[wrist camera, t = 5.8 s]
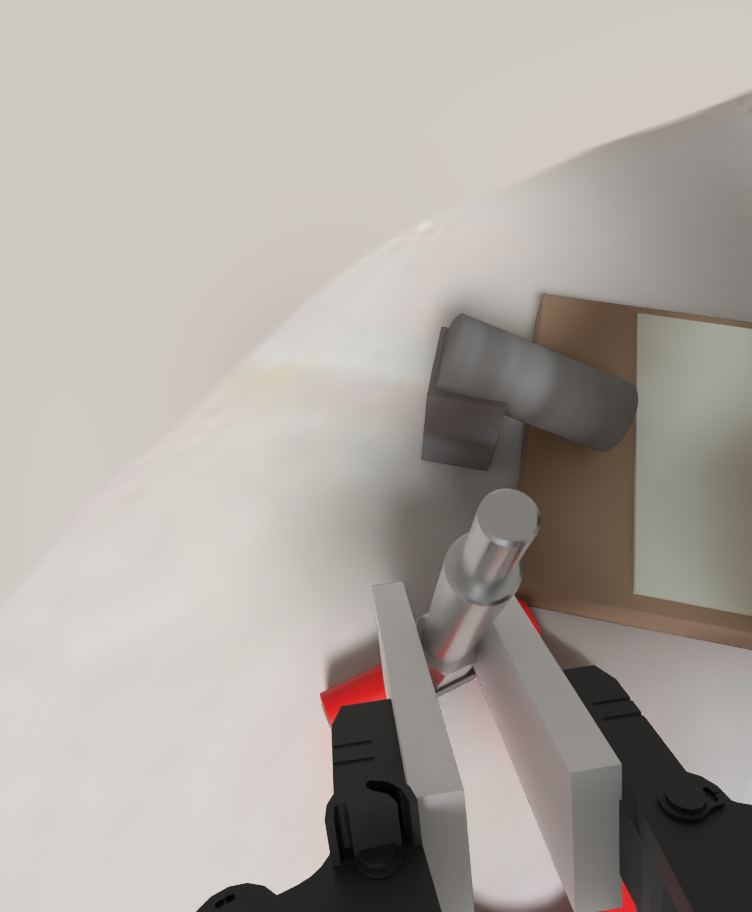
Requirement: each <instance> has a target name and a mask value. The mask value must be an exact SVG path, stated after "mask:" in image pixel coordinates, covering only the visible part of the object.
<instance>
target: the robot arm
mask: <svg viewBox="0 0 752 912" xmlns="http://www.w3.org/2000/svg"><path fill="white" fill-rule="evenodd" d="M372 590H373V598H374V606H375V614H376V622H377V631H378V639H379V647H380V655H381V663H382V671H383V679H384V686H385V692H386V698H387V699H384V700H377V701H371V702H365V703H358V704H352V705H345V706H341V708H340V710H339V712H338V714H337V716H336V717H335V719H334V721H333V723H332V725H331V727H332V749H333V750H332V756H333V785H334V794H333V796H332V797H331V799H330V801H329V802H328V804H327V807H326V815H325V824H326V830H327V837H328V843H329V849H330V855H329V856H328V858H327V859H326V861H325V862H324V864H323V865H322V867H321V868H320V869H318V870H317V871H316V872H315V873H314V874H313V875H312V876H311V877H310V878H308V879H307V880H305V881H303V882H302V883H300V884H299V885H297V886H295V887H293V888H291V889H289V890H287V891H285V892H283V893H281V894H279V895H276V894H274V893H273V892H272V891H270V890H269V889H268V888H266V887H265V886H262V885H256V884H250V883H245V884H240V885H235V886H230V887H228V888H226V889H224V890H222V891H220V892H219V893H217V894H215V895H213V896H212V897H210V898H209V899H208V900H207V901H206V902H205V903H204V904H203V905H202V906H201V907H200V908H199V909H198V910H197V911H196V912H475V911H474V900H473V889H472V877H471V866H470V855H469V843H468V832H467V821H466V809H465V798H464V789H463V786H462V782H461V779H460V775H459V772H458V768H457V765H456V762H455V758H454V755H453V751H452V748H451V745H450V741H449V738H448V734H447V731H446V727H445V724H444V721H443V717H442V714H441V710H440V707H439V704H438V700H437V697H436V693H435V690H434V686H433V683H432V680H431V676H430V673H429V669H428V666H427V662H426V659H425V656H424V652H423V649H422V645H421V642H420V639H419V635H418V632H417V628H416V625H415V621H414V618H413V615H412V611H411V608H410V604H409V601H408V598H407V594H406V591H405V587H404V584H403V581H402V582H395V583H388V584H381V585H374V586H372ZM474 670H475V672H476V675H477V677H478V680H479V682H480V684H481V687H482V689H483V692H484V694H485V697H486V699H487V701H488V704H489V706H490V709H491V711H492V714H493V716H494V719H495V721H496V723H497V726H498V728H499V731H500V733H501V736H502V738H503V740H504V743H505V745H506V748H507V750H508V753H509V755H510V758H511V760H512V762H513V765H514V767H515V770H516V772H517V775H518V777H519V779H520V782H521V784H522V787H523V789H524V792H525V794H526V797H527V799H528V801H529V804H530V806H531V809H532V811H533V814H534V816H535V819H536V821H537V823H538V826H539V828H540V831H541V833H542V836H543V838H544V840H545V843H546V845H547V848H548V850H549V853H550V855H551V858H552V860H553V862H554V865H555V867H556V870H557V872H558V875H559V877H560V879H561V882H562V884H563V887H564V889H565V892H566V894H567V897H568V899H569V901H570V904H571V906H572V909H573V911H574V912H599V911H605V910H611V909H616V908H622V880H623V882H624V884H625V886H626V888H627V890H628V892H629V894H630V896H631V898H632V900H633V902H634V904H635V906H636V912H752V805H748V804H743V803H738V802H734V801H731V800H730V799H729V798H728V796H727V795H726V794H725V793H724V792H723V791H722V790H721V789H720V788H719V787H718V786H716V785H715V784H713V783H711V782H710V781H708V780H706V779H705V778H703V777H701V776H698V775H695V774H692V773H689V772H686V771H685V769H684V768H683V767H682V765H681V764H680V763H679V761H678V760H677V759H676V757H675V756H674V755H673V753H672V752H671V751H670V750H669V748H668V747H667V746H666V744H665V743H664V742H663V740H662V739H661V738H660V736H659V735H658V734H657V732H656V731H655V730H654V728H653V727H652V726H651V725H650V723H649V722H648V721H647V719H646V718H645V717H644V716H642V715H641V711H640V710H639V709H638V707H637V706H636V705H635V704H634V702H633V701H631V700H630V697H629V696H628V694H627V693H626V692H625V690H624V689H623V688H622V686H621V685H620V684H619V682H618V681H617V680H616V679H615V678H613V677H612V676H610V675H609V674H607V673H606V672H604V671H602V670H601V669H599V668H598V667H596V666H595V665H593V666H586V667H580V668H573V669H567V670H561V668H560V666H559V665H558V663H557V662H556V660H555V659H554V657H553V655H552V654H551V652H550V651H549V649H548V648H547V646H546V644H545V643H544V641H543V640H542V638H541V637H540V635H539V633H538V632H537V630H536V629H535V627H534V626H533V624H532V622H531V621H530V619H529V618H528V616H527V615H526V613H525V611H524V610H523V608H522V607H521V605H520V604H519V602H518V600H517V599H516V597H515V596H514V595H513V597H512V598H511V599H510V601H509V602H508V603H507V604H506V606H505V607H504V608H503V610H502V611H501V612H500V614H499V615H498V616H497V618H496V619H495V620H494V622H493V623H492V624H491V626H490V627H489V628H488V630H487V631H486V632H485V634H484V635H483V636H482V637H481V639H480V640H479V641H478V660H477V662H476V663H475V664H474Z"/></svg>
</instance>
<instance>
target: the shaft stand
mask: <svg viewBox="0 0 752 912" xmlns="http://www.w3.org/2000/svg"><path fill="white" fill-rule="evenodd" d="M504 415H506V416H509V417H512V418H514V419H517V420H519V421H522V422H525V424H524V433H523V441H522V450H521V459H520V468H519V477H518V486H517V490H518V491H520V492H523V493H525V494H526V495H527V496H528V497H530V498H531V499H532V500H533V502H534V503H535V504H536V506H537V508H538V510H539V512H540V518H541V523H540V529H539V531H538V533H537V535H536V537H535V538H534V540H533V541H532V543H531V544H530V546H529V547H528V549H527V550H526V552H525V553H524V555H523V556H522V558H521V563H522V569H523V573H522V581H521V583H520V585H519V588H518V590H517V591H516V593H515V594H514V596H515V597H516V599H521V600H522V601H523V602H524V603H525V604H526V605H527V606H532V607H537V608H542V609H547V610H552V611H557V612H562V613H567V614H572V615H577V616H583V617H588V618H593V619H598V620H603V621H608V622H613V623H618V624H623V625H628V626H633V627H638V628H643V629H648V630H654V631H659V632H664V633H669V634H674V635H679V636H684V637H689V638H694V639H699V640H704V641H709V642H714V643H719V644H724V645H730V646H735V647H740V648H745V649H750V650H752V323H749V322H742V321H735V320H727V319H720V318H713V317H706V316H699V315H691V314H684V313H677V312H670V311H663V310H655V309H648V308H641V307H634V306H627V305H619V304H612V303H605V302H598V301H591V300H583V299H576V298H569V297H562V296H555V295H547V294H544V295H543V299H542V302H541V305H540V309H539V312H538V315H537V319H536V325H535V334H534V343H533V342H530V341H528V340H525V339H523V338H521V337H518V336H516V335H513V334H511V333H508V332H506V331H504V330H501V329H499V328H496V327H494V326H492V325H489V324H487V323H484V322H482V321H479V320H477V319H475V318H472V317H470V316H467V315H465V314H460V315H458V316H457V317H456V318H455V320H454V321H453V322H452V324H451V325H450V327H449V328H447V327H441V331H440V336H439V341H438V346H437V351H436V356H435V360H434V365H433V369H432V373H431V380H430V385H429V389H428V394H427V403H426V414H425V425H424V436H423V447H422V458H421V459H422V460H428V461H434V462H439V463H445V464H451V465H457V466H462V467H468V468H474V469H480V470H485V471H488V468H489V465H490V461H491V458H492V454H493V451H494V447H495V444H496V440H497V437H498V434H499V430H500V427H501V423H502V420H503V416H504Z"/></svg>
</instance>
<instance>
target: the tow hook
mask: <svg viewBox="0 0 752 912" xmlns="http://www.w3.org/2000/svg"><path fill="white" fill-rule="evenodd" d="M540 523H541V518H540V512H539V510H538V508H537V506H536V504H535V503H534V502H533V500H532V499H531V498H530V497H528V496H527V495H526V494H525V493H523V492H520V491H518V490H515V489H510V488H503V489H498V490H494V491H492V492H490V493H489V494H487V495H486V496H485V497H484V498H483V499H482V501H481V503H480V505H479V507H478V509H477V512H476V515H475V517H474V520H473V523H472V525H471V528H470V531H469V533H466V534H464V535H462V536H460V537H459V538H457V539H456V540H455V541H454V542H453V543H452V544H451V546H450V547H449V549H448V551H447V553H446V556H445V559H444V562H443V566H442V569H441V572H440V575H439V579H438V582H437V585H436V588H435V592H434V595H433V598H432V602H431V605H430V608H429V611H428V613H426V614H424V615H422V616H420V617H419V618H417V620H416V624H415V625H416V628H417V632H418V635H419V639H420V642H421V645H422V649H423V652H424V656H425V659H426V662H427V666H428V669H429V673H430V676H431V680H432V683H433V686H434V690H435V693H436V697H439V696H441V695H443V694H445V693H447V692H449V691H451V690H453V689H455V688H457V687H459V686H461V685H463V684H465V683H467V682H469V681H471V680H473V679H474V678H475V677H476V676H477V675H476V672H475V670H474V664H475V663H476V662H477V660H478V641H479V640H480V639H481V637H482V636H483V635H484V634H485V632H486V631H487V630H488V628H489V627H490V626H491V624H492V623H493V622H494V620H495V619H496V618H497V616H498V615H499V614H500V612H501V611H502V610H503V608H504V607H505V606H506V604H507V603H508V602H509V601H510V599H511V598H512V597H513V595H514V594H515V593H516V591H517V590H518V588H519V585H520V583H521V581H522V573H523V569H522V563H521V558H522V556H523V555H524V553H525V552H526V550H527V549H528V547H529V546H530V544H531V543H532V541H533V540H534V538H535V537H536V535H537V533H538V531H539V529H540ZM517 600H518V602H519V604H520V605H521V607H522V608H523V610H524V611H525V613H526V615H527V616H528V618H529V619H530V621H531V622H532V624H533V626H534V627H535V629H536V630H537V632H538V633H539V635H540V637H541V633H540V629H539V626H538V624H537V621H536V619H535V617H534V615H533V614H532V612H531V611H530V609H529V608H528V606H527V605H526V604H525V603H524V602H523V601H522V600H521V599H517ZM320 698H321V701H322V703H321V704H322V708H323V710H324V713H325V716H326V718H327V721H328V723H329V726H330V728H331V730H332V727H331V725H332V723H333V721H334V719H335V717H336V716H337V714H338V712H339V710H340V708H341V706H345V705H352V704H358V703H365V702H371V701H377V700H384V699H387V698H386V692H385V686H384V679H383V671H382V664H380V665H378V666H376V667H374V668H372V669H370V670H368V671H366V672H364V673H362V674H359V675H357V676H355V677H353V678H351V679H349V680H347V681H345V682H343V683H341V684H339V685H337V686H334V687H332V688H330V689H328V690H326V691H324V692H322V693H320ZM599 912H636V906H635V904H634V902H633V900H632V898H631V896H630V894H629V892H628V890H627V888H626V886H625V884H624V882H623V880H622V908H616V909H611V910H605V911H599Z"/></svg>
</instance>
